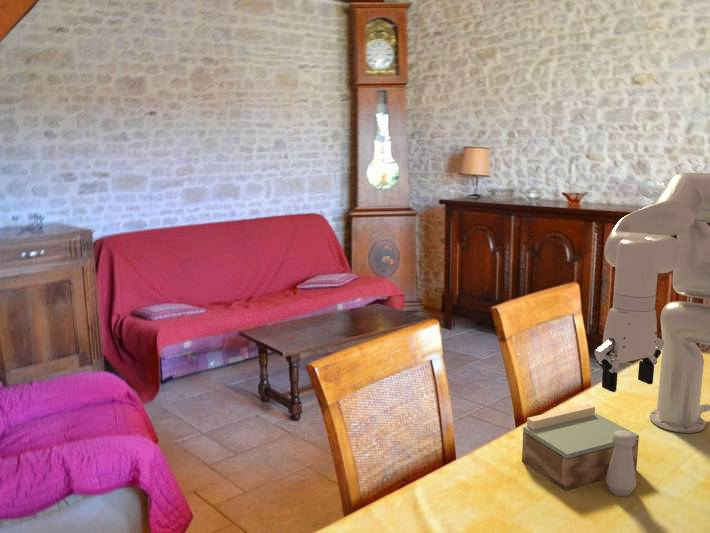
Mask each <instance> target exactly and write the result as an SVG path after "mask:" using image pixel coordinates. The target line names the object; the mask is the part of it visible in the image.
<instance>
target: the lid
mask: <svg viewBox="0 0 710 533" xmlns="http://www.w3.org/2000/svg"><path fill="white" fill-rule="evenodd" d="M618 430H625V431H629V432H631V433H632V434H633V435H634V436H635V439H636V440H640V434H637V433H636V432H634V431H632V430H630V429H627V428H626V427H624V426H622V425H620V424H618V423H616V422H614V421H612V420H610V419H608V418H606V417H604V416H602V415H601V414H598V413H596V406H594V405H592V404H590V403H587V404H582V405H581V404H580V405H578V406H573V407H568V408H563V409H561V410H556V411H552V412H547V413H543V414H539V415H534V416H530V417H527V418H526V425H525V426H523V427H522V432H525V433H527V434H528V435H530V436H531V437H533V438H535V439H536V440H538V441H539V442H541V443H543V444H544V445H546V446H547V447H549V448H551V449H552V450H554V451H555V452H557V453H558V454H560V455H562V456H563V457H565V458H566V459H568V458H572V457H576V456H579V455H583V454H587V453H590V452H594V451H598V450H602V449H605V448H609V447H613V446H615V445H616V444H614V443H613V440H612V436H613V433H614V432H615V431H618Z"/></svg>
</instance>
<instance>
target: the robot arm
mask: <svg viewBox="0 0 710 533" xmlns="http://www.w3.org/2000/svg"><path fill="white" fill-rule="evenodd" d="M708 223H709V224H710V172H681V173H678V174H677V175H674V176H673V177H672V178H671V179H669V181H668V182H667V184H666V185H665V187H664V189H663V190H662V191H661V194H660V195H659V196H658V198H657V199H656V201H655V203H653V204H649V205H647V206H644V207H642V208H640V209H638V210H635V211H633V212H630V213H629V214H627V215H625V216H624V217H623V216H622V218H621V219H619V220H618V222H617V223H616V224H615V225H614V227H613V229H612V230H611V231H610V233H609V235H608V237H607V238H606V240H605V241H606V242H605V244H604V250H603V251H604V252H603V253H604V258H605V261H606V262H607V263H608V264H609V265H610V266H611V267H615V270H614V271H615V272H614V282H613V283H614V284H613V296H612V307H611V308H609V311H608V313H607V316H606V320H605V325H604V330H603V337H602V344H601V345H600V346H598V347H597V349H595V350H594V355H595V358H596V363H597V364H598V365H599V366H600V369H602V374H601V375H602V378H601V388H603V389H605V390H607V391H608V392H611V393H616V392H617V389H618V388H617V386H618V385H617V384H618V372H616V371H617V369H618V367H619V366H620V364H621V363H625V362H626V363H627V362H632V361H638V360H639V362H638V374H637V379H638V381H640V382H643V383H645V384H647V385H653V384H654V377H655V376H654V374H655V366H656V365H657V363H658V359H659V357H660V356H661V358H660V359H661V360H660V370H659V384H658V393H657V405H656V406H657V407H656V409H654V410H652V411H651V412H650V413H649V420H650V422H652V423H653V424H654V425H655V426H657V427H659V428H661V429H664V430H667V431H670V432H675V433H684V434H692V433H693V434H694V433H698V432H701V431H703V430H704V429H705V427H706V422H705V419H703V417H701V415H702V414H704V413H706V412H710V404H709V403H704V404H703V403H702V404H701V395H702V384H703V376H704V366H705V365H704V364H705V359H704V355H703V353H702V351H701V349H700V347H699V346H698V345H697V344H703V345H709V346H710V304H705V303H700V302H699V303H698V302H693V301H692V302H690V301H681V300H678V301H677V300H675V301H672V302H668V303H666V304H665V306H664V307H663V308H662V310H661V313H660V330H661V338H660V337H658V330H657V329H658V328H657V327H658V323H657V322H658V320H657V310H656V300H657V286H658V284H657V283H658V276H659V275H658V274H667V273H668V274H669V273H670V272H673V273H672V289H673V290H674V292H676V293H677V294H679V295H681V296H686V297H692V298H697V299H706V300H710V225H709V224H708ZM674 236H676V237H674ZM612 361H613V362H612ZM611 362H612V364H611Z"/></svg>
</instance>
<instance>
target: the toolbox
mask: <svg viewBox="0 0 710 533" xmlns="http://www.w3.org/2000/svg"><path fill="white" fill-rule="evenodd" d="M639 440H640V439H639ZM639 440H636V441H635V445H634V446H633V447H632V452H633V460H634V468H635V471H637V467H638V466H637V465H638V453H639V442H640V441H639ZM521 446H522V450H521V452H522V453H521V454H522V455H521V462H523V463H524V464H526V465H527V466H529V467H530V468H532V469H533V470H534V471H536V472H537V473H539V474H540V475H541V476H543V477H545V478H546V479H547V480H549V481H550V482H552V483H554V484H555V485H556V486H557V487H559V488H560V489H561V490H563V491H565V492H566V491H569V490H572V489H576V488H579V487H582V486H586V485H590V484H594V483H596V482H599V481H603V480H606V475H607V471H608V468H609V465H610V462H611V458H612V455H613V452H614V448H615V446H613V447H609V448H605V449H602V450H598V451H594V452H590V453H587V454H583V455H579V456H576V457H572V458H568V459H566V458H565V457H563V456H562V455H560V454H558V453H557V452H555V451H554V450H552V449H551V448H549V447H547V446H546V445H544V444H543V443H541V442H539V441H538V440H536V439H535V438H533V437H531V436H530V435H528V434H527V433H525V432H524V431H522V445H521Z"/></svg>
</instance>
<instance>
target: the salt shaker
mask: <svg viewBox="0 0 710 533" xmlns="http://www.w3.org/2000/svg"><path fill="white" fill-rule="evenodd" d="M612 440H613V443H614V444H616V445H615V448H614V452H613V455H612V458H611V462H610V465H609V468H608V471H607V475H606V479H605V482H606V485H607V488H608V490H609V492H610V493H612V494H613V495H615V496H616V497H625V498H626V497H628V496H630V495H631V494H632V492H633V491H634V489H635V488H636V486H637V478H636V470H635V468H634V460H633V452H632V447H633V446H634V445H635V441H636V439H635V436H634V435H633V434H632V433H631V432H629V431H625V430H618V431H615V432H614V433H613V436H612Z"/></svg>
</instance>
